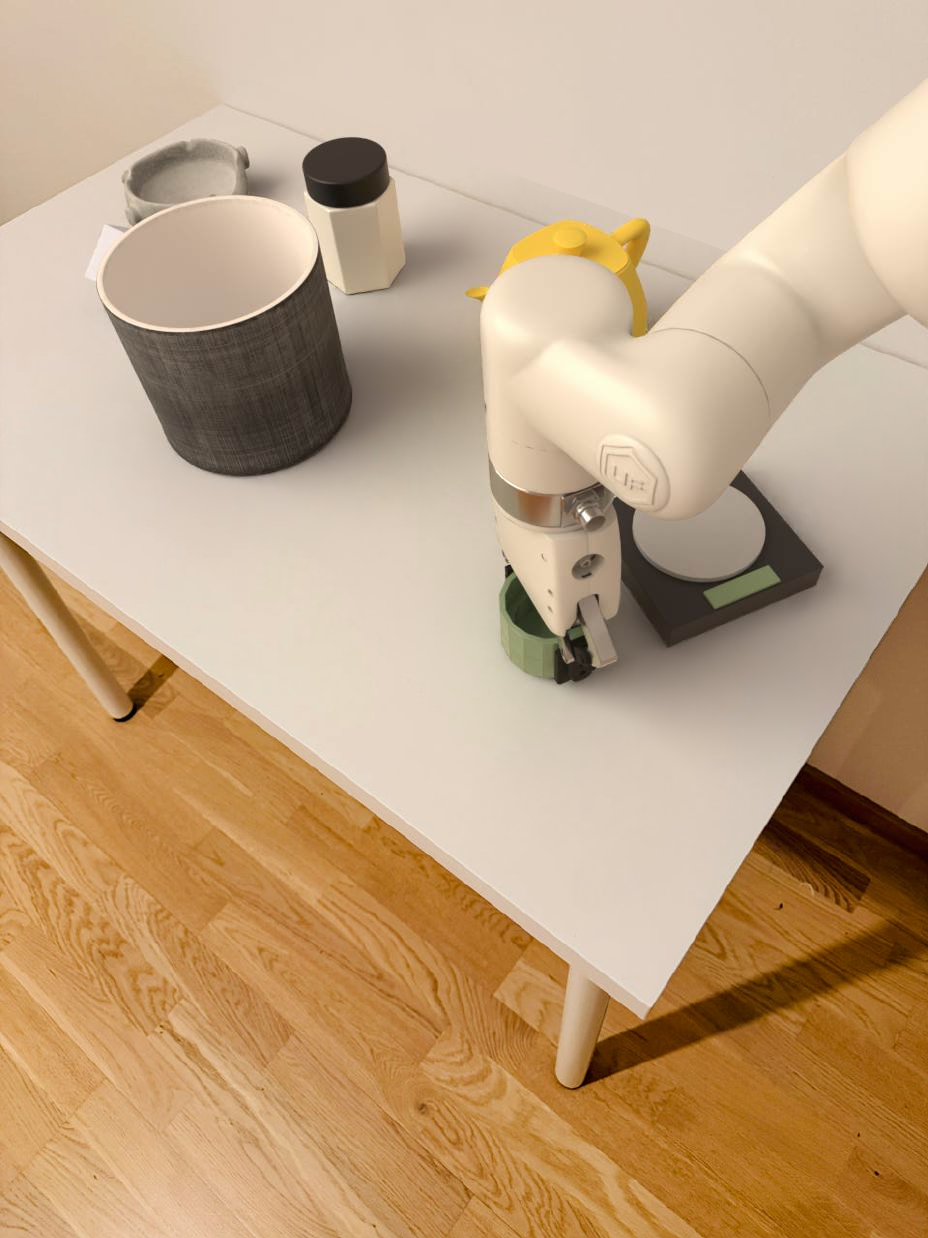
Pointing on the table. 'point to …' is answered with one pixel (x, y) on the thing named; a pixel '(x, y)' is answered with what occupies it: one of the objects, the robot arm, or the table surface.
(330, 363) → the planter
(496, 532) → the robot arm
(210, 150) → the dish
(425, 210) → the table surface
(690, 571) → the scale
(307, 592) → the table surface
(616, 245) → the teapot
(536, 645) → the green cup
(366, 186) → the jar
